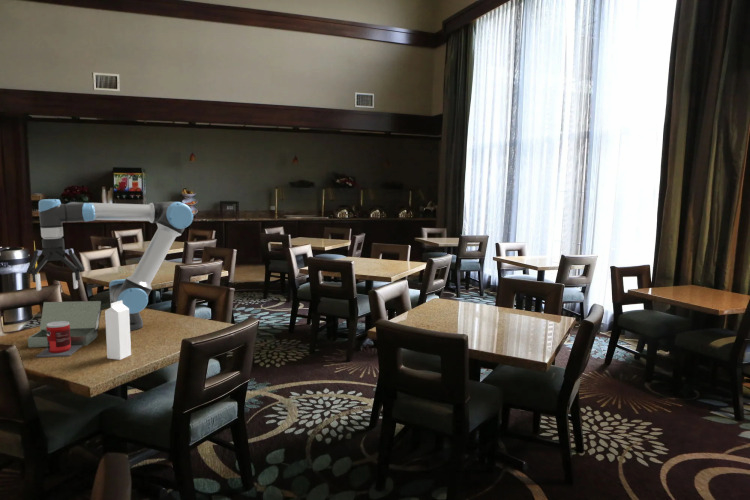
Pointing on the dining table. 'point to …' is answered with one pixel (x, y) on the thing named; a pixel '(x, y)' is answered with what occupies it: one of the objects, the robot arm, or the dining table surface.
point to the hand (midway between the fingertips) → (57, 289)
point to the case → (70, 321)
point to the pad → (67, 353)
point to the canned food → (58, 336)
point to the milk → (118, 331)
